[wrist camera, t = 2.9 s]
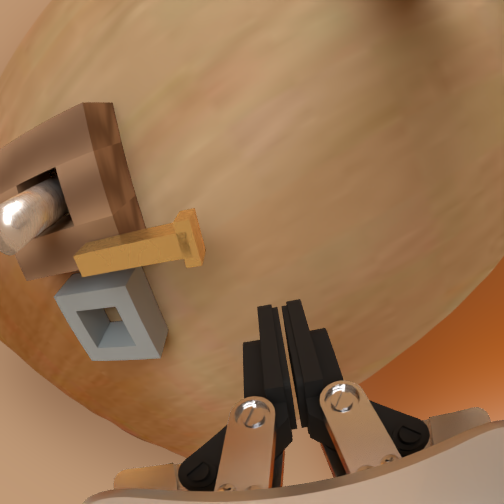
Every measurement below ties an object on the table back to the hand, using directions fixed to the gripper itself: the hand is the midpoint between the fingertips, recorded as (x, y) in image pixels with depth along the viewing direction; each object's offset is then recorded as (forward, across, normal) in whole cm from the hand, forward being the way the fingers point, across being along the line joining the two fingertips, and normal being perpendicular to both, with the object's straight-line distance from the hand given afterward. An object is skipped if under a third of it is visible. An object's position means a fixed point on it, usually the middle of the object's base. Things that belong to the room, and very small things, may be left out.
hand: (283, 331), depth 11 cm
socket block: (+19, +19, -6) cm, 27 cm away
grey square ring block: (+19, +19, +9) cm, 28 cm away
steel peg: (+19, +19, -6) cm, 27 cm away
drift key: (+12, +10, 0) cm, 16 cm away
